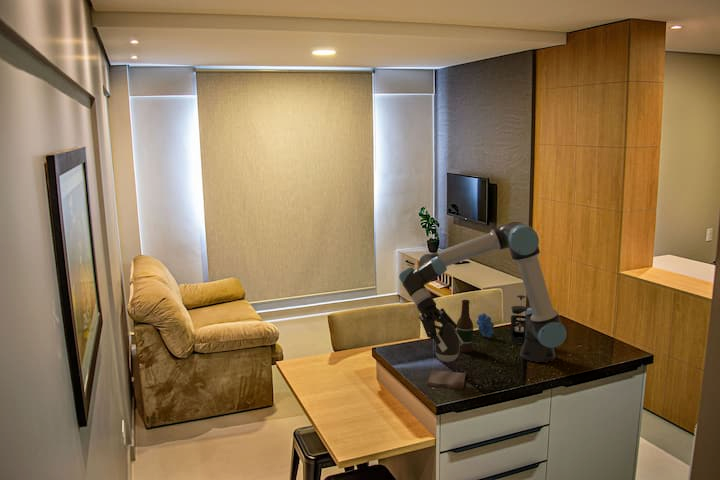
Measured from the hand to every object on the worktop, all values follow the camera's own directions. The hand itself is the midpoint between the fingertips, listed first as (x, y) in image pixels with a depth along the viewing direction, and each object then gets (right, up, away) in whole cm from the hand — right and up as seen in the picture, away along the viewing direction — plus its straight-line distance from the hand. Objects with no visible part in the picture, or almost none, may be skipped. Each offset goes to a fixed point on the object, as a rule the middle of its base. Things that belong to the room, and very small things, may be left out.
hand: (453, 347), depth 243 cm
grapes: (+25, -6, +61) cm, 66 cm away
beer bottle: (+12, -9, +42) cm, 44 cm away
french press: (+41, -7, +55) cm, 69 cm away
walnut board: (-2, -14, +4) cm, 15 cm away
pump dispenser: (-2, -6, +3) cm, 7 cm away
